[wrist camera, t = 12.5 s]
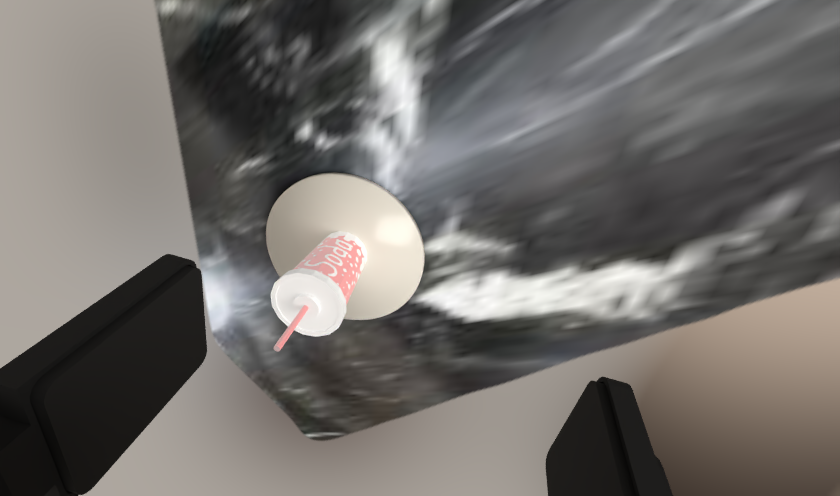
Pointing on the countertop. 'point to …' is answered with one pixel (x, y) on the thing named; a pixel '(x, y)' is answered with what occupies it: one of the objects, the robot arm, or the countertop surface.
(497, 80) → the countertop surface
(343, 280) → the beverage cup
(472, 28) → the countertop surface
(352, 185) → the dish
